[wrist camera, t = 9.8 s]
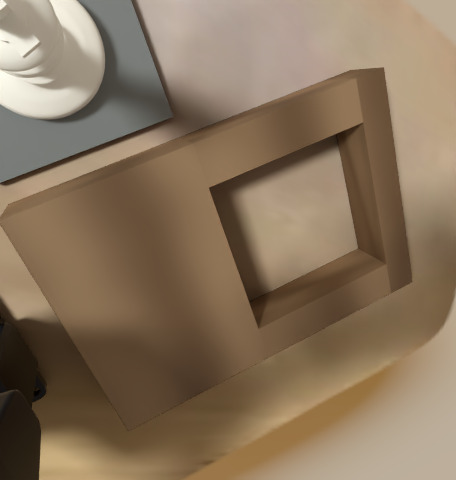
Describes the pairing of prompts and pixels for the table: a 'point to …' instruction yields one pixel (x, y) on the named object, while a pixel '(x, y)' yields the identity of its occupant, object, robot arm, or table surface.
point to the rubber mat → (102, 104)
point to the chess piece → (48, 57)
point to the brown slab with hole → (208, 248)
